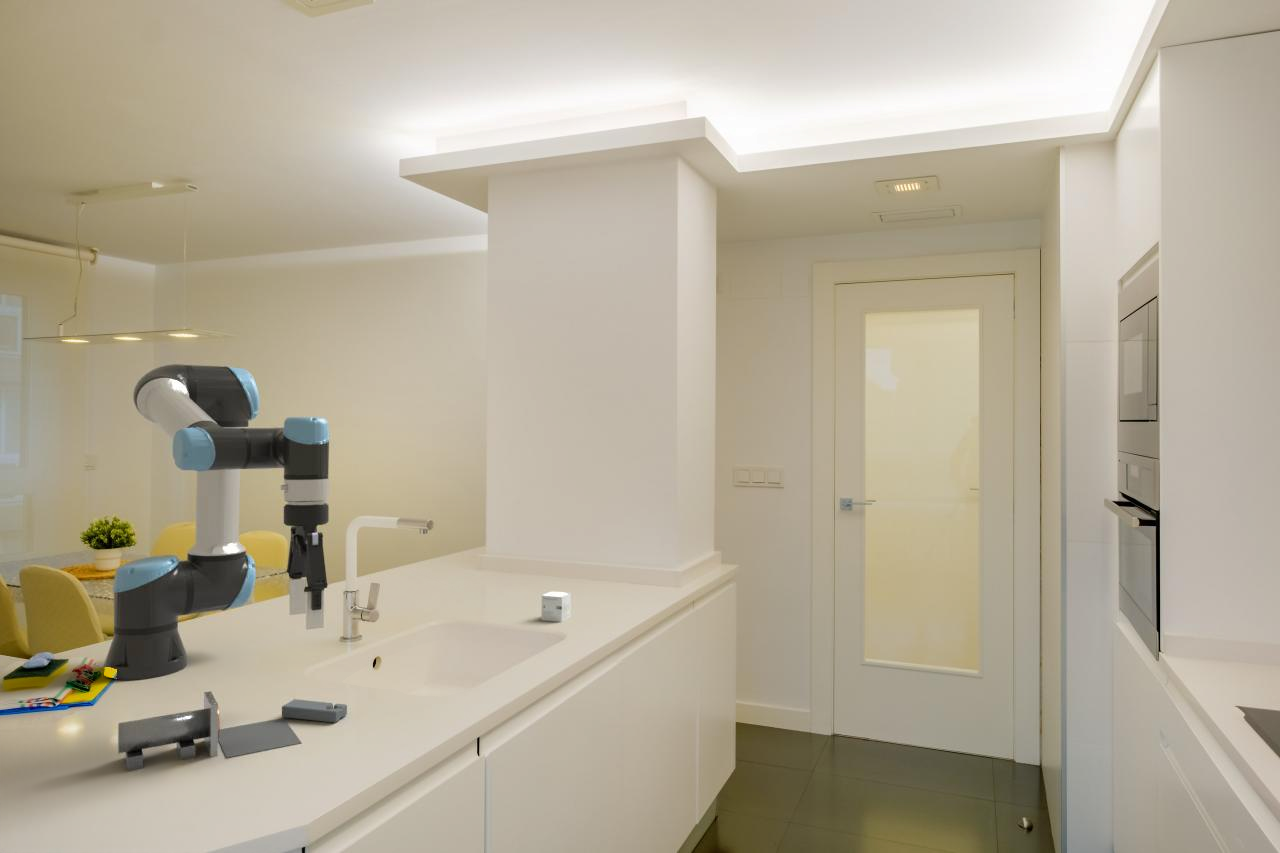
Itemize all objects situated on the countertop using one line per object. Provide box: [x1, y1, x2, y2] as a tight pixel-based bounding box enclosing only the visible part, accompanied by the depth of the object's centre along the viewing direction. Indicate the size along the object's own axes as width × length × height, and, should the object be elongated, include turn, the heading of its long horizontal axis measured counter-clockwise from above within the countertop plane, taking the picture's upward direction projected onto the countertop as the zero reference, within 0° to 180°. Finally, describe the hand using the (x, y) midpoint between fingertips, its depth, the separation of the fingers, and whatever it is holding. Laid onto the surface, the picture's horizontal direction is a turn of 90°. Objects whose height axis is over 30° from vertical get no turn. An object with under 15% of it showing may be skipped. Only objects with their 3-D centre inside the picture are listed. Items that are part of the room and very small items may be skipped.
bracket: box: [281, 698, 348, 724], centre depth 147 cm, size 4×10×2 cm, turn 80°
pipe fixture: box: [117, 691, 221, 772], centre depth 130 cm, size 8×13×8 cm, turn 124°
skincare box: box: [541, 591, 572, 623], centre depth 223 cm, size 6×6×7 cm
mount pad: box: [218, 717, 302, 759], centre depth 138 cm, size 14×11×1 cm
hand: (306, 621), depth 150 cm, fingers open, 13 cm apart
